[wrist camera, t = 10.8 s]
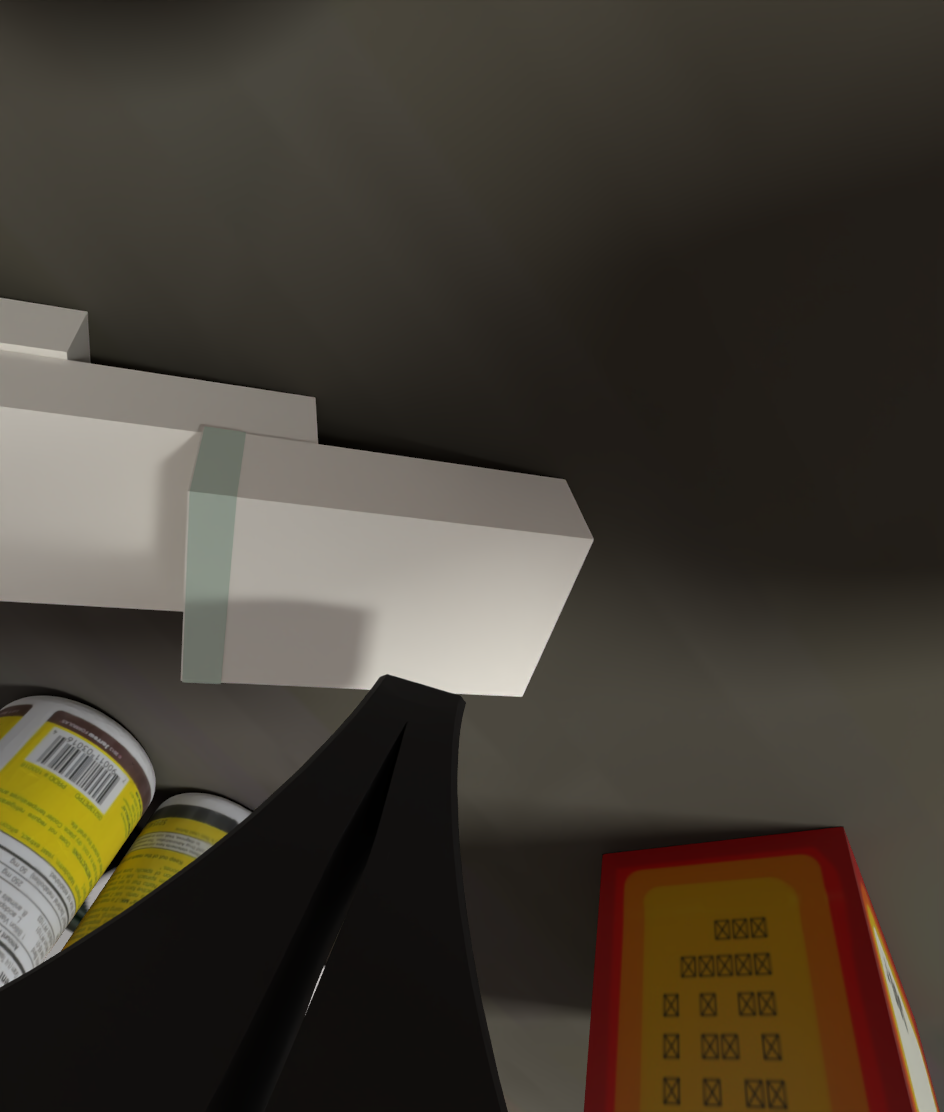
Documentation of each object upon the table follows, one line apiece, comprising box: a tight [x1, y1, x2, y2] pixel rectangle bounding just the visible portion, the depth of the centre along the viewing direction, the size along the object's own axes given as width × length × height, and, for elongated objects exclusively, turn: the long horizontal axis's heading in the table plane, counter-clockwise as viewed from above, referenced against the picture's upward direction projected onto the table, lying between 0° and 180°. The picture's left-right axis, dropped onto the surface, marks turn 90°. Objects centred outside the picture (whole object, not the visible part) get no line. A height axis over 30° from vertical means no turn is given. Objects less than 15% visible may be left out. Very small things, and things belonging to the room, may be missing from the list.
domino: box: [0, 350, 318, 612], centre depth 14 cm, size 2×4×7 cm
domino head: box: [181, 426, 594, 697], centre depth 14 cm, size 2×4×7 cm
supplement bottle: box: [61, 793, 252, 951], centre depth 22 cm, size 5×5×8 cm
